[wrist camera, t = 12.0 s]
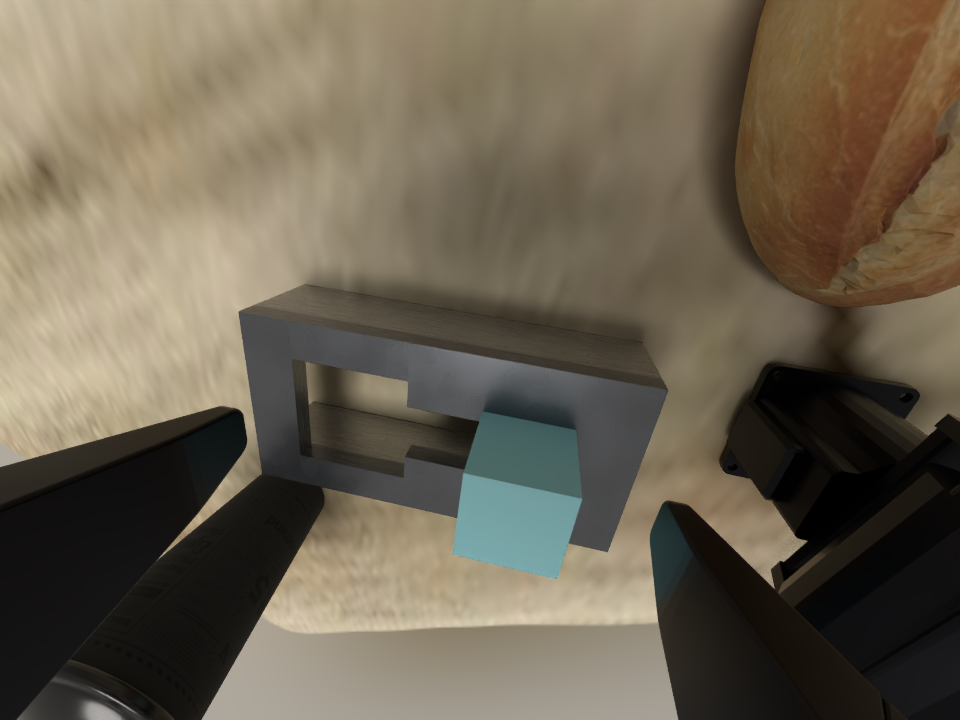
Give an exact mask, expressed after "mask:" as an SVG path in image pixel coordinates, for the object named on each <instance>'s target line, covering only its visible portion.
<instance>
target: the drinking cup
mask: <svg viewBox="0 0 960 720" xmlns="http://www.w3.org/2000/svg"><path fill="white" fill-rule="evenodd" d="M323 505H324V496H323V492H322V490H321V488H320V487H319V486H315V485H310V484H306V483H302V482H297V481H293V480H289V479H284V478H280V477H275V476H271V475H267V474H261V475H260V476H259V477H257V478H256V479H255V480H254V481H253V482H251V483H250V484H249V485H248V486H247V487H245V488H244V489H243V490H242V491H240V492H239V493H238V494H237V495H236V496H234V497H233V498H232V499H231V500H230V501H228V502H227V503H226V504H225V505H224V506H222V507H221V508H220V509H219V510H217V511H216V512H215V513H214V514H213V515H211V516H210V517H209V518H208V519H207V520H205V521H204V522H203V523H202V524H201V525H199V526H198V527H197V528H196V529H195V530H193V531H192V532H191V533H190V534H188V535H187V536H186V537H185V538H184V539H182V540H181V541H180V542H179V543H178V544H176V545H175V546H174V547H173V548H172V549H170V550H169V551H168V552H167V553H166V554H164V555H163V556H162V557H161V558H159V559H158V560H157V561H156V562H155V563H154V564H153V565H152V566H151V568H150V569H149V570H148V571H147V572H146V573H145V574H144V576H143V577H142V578H141V579H140V580H139V581H138V582H137V583H136V585H135V586H134V587H133V588H132V589H131V590H130V591H129V593H128V594H127V595H126V596H125V597H124V598H123V599H122V601H121V602H120V603H119V604H118V605H117V606H116V607H115V609H114V610H113V611H112V612H111V613H110V614H109V615H108V616H107V618H106V619H105V620H104V621H103V622H102V623H101V624H100V626H99V627H98V628H97V629H96V630H95V631H94V632H93V634H92V635H91V636H90V637H89V638H88V639H87V640H86V642H85V643H84V644H83V645H82V646H81V647H80V648H79V649H78V651H77V652H76V653H75V654H74V655H73V656H72V657H71V659H70V660H69V661H68V662H67V663H66V664H65V665H64V667H63V668H62V669H61V670H60V671H59V672H58V673H57V674H56V676H55V677H54V678H53V679H52V680H51V681H50V682H49V684H48V685H47V686H46V687H45V688H44V689H43V690H42V692H41V693H40V694H39V695H38V696H37V697H36V698H35V700H34V701H33V702H32V703H31V704H30V705H29V706H28V707H27V709H26V710H25V711H24V712H23V713H22V714H21V715H20V717H19V718H18V719H17V720H202V717H203V716H204V714H205V713H206V711H207V709H208V707H209V705H210V704H211V702H212V700H213V699H214V697H215V695H216V693H217V692H218V690H219V688H220V686H221V685H222V683H223V681H224V679H225V678H226V676H227V674H228V672H229V671H230V669H231V667H232V665H233V664H234V662H235V660H236V658H237V656H238V655H239V653H240V652H241V650H242V648H243V646H244V644H245V643H246V641H247V639H248V638H249V636H250V634H251V632H252V631H253V629H254V627H255V625H256V623H257V622H258V620H259V618H260V617H261V615H262V613H263V611H264V610H265V608H266V606H267V604H268V603H269V601H270V599H271V597H272V596H273V594H274V592H275V590H276V589H277V587H278V585H279V583H280V582H281V580H282V578H283V576H284V575H285V573H286V571H287V569H288V568H289V566H290V564H291V562H292V561H293V559H294V557H295V555H296V554H297V552H298V550H299V548H300V547H301V545H302V543H303V541H304V540H305V538H306V536H307V534H308V533H309V531H310V529H311V527H312V526H313V524H314V522H315V520H316V519H317V517H318V515H319V513H320V512H321V510H322V508H323Z"/></svg>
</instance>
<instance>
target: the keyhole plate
mask: <svg viewBox="0 0 960 720" xmlns="http://www.w3.org/2000/svg"><path fill="white" fill-rule="evenodd" d="M239 319H240V325H241V332H242V339H243V346H244V353H245V359H246V366H247V373H248V380H249V386H250V393H251V400H252V407H253V414H254V420H255V427H256V434H257V441H258V447H259V454H260V461H261V468H262V474H267V475H271V476H275V477H280V478H284V479H289V480H293V481H297V482H302V483H306V484H310V485H315V486H319V487H324V488H328V489H332V490H337V491H341V492H346V493H350V494H354V495H359V496H363V497H368V498H372V499H376V500H381V501H385V502H390V503H394V504H398V505H403V506H407V507H412V508H416V509H420V510H425V511H429V512H434V513H438V514H442V515H447V516H451V517H455V518H457V517H458V509H459V502H460V494H461V487H462V480H463V473H464V470H465V466H466V463H467V460H468V457H469V453H470V450H471V447H472V444H473V441H474V437H475V435H472V434H467V433H462V432H457V431H453V430H448V429H443V428H438V427H433V426H428V425H423V424H418V423H413V422H409V421H404V420H399V419H394V418H389V417H384V416H379V415H374V414H369V413H365V412H360V411H355V410H350V409H345V408H340V407H335V406H330V405H325V404H321V403H316V402H312V403H311V404H310V405H309V404H308V391H307V377H306V364H305V361H306V362H311V363H316V364H321V365H326V366H332V367H337V368H342V369H347V370H352V371H357V372H362V373H368V374H373V375H378V376H383V377H388V378H393V379H399V380H404V381H408V401H407V407H410V408H415V409H420V410H425V411H430V412H435V413H440V414H445V415H449V416H454V417H459V418H464V419H469V420H474V421H480V418H481V415H482V412H488V413H493V414H498V415H503V416H508V417H513V418H518V419H523V420H528V421H533V422H538V423H543V424H548V425H553V426H558V427H563V428H568V429H573V430H576V434H577V446H578V457H579V468H580V479H581V490H582V501H581V505H580V508H579V511H578V514H577V517H576V521H575V524H574V527H573V530H572V533H571V537H570V540H569V543H570V544H574V545H579V546H583V547H587V548H592V549H596V550H600V551H605V552H608V550H609V547H610V545H611V542H612V539H613V537H614V534H615V531H616V529H617V526H618V523H619V521H620V518H621V515H622V513H623V510H624V507H625V505H626V502H627V499H628V497H629V494H630V491H631V489H632V486H633V483H634V481H635V478H636V475H637V473H638V470H639V467H640V465H641V462H642V459H643V457H644V454H645V451H646V449H647V446H648V443H649V441H650V438H651V435H652V433H653V430H654V427H655V425H656V422H657V419H658V417H659V414H660V411H661V409H662V406H663V403H664V401H665V398H666V395H667V393H668V389H667V387H666V385H665V383H664V381H663V380H662V378H661V376H660V374H659V372H658V371H657V369H656V367H655V365H654V363H653V362H652V360H651V358H650V356H649V354H648V352H647V351H646V349H645V347H644V345H643V343H641V342H635V341H629V340H623V339H618V338H612V337H606V336H600V335H594V334H589V333H583V332H577V331H571V330H565V329H560V328H554V327H548V326H542V325H536V324H531V323H525V322H519V321H513V320H507V319H502V318H496V317H490V316H484V315H478V314H473V313H467V312H461V311H455V310H449V309H444V308H438V307H432V306H426V305H420V304H415V303H409V302H403V301H397V300H391V299H386V298H380V297H374V296H368V295H362V294H357V293H351V292H345V291H339V290H333V289H328V288H322V287H316V286H310V285H302V286H300V287H297V288H295V289H292V290H290V291H287V292H285V293H283V294H280V295H278V296H275V297H273V298H270V299H268V300H265V301H263V302H261V303H258V304H256V305H253V306H251V307H248V308H246V309H243V310H241V311H239Z"/></svg>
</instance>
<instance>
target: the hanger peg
mask: <svg viewBox="0 0 960 720" xmlns="http://www.w3.org/2000/svg"><path fill="white" fill-rule="evenodd" d="M581 501H582V490H581V479H580V468H579V457H578V446H577V434H576V430H573V429H568V428H563V427H558V426H553V425H548V424H543V423H538V422H533V421H528V420H523V419H518V418H513V417H508V416H503V415H498V414H493V413H488V412H482V415H481V418H480V421H479V425H478V428H477V431H476V434H475V437H474V441H473V444H472V447H471V450H470V453H469V457H468V460H467V463H466V466H465V470H464V473H463V480H462V487H461V494H460V502H459V509H458V517H457V524H456V531H455V539H454V546H453V555H457V556H461V557H465V558H470V559H474V560H478V561H482V562H486V563H491V564H495V565H499V566H503V567H507V568H512V569H516V570H520V571H524V572H528V573H532V574H537V575H541V576H545V577H549V578H553V579H557V578H558V575H559V572H560V569H561V565H562V562H563V559H564V556H565V553H566V549H567V546H568V543H569V540H570V537H571V533H572V530H573V527H574V524H575V521H576V517H577V514H578V511H579V508H580V505H581Z"/></svg>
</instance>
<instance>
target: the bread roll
mask: <svg viewBox="0 0 960 720" xmlns="http://www.w3.org/2000/svg"><path fill="white" fill-rule="evenodd" d="M735 178H736V190H737V197H738V201H739V205H740V209H741V214H742V218H743V221H744V224H745V227H746V230H747V232H748V235H749V238H750V241H751V243H752V245H753V247H754V249H755V252H756V253H757V255H758V256H759V257H760V259H761V260H762V262H763V263H764V264H765V265H766V267H767V268H768V269H769V271H770V272H771V273H772V274H773V275H774V276H775V277H776V278H777V279H778V280H779V281H780V282H781V283H782V284H783V285H784V286H785V287H786V288H787V289H789V290H790V291H792V292H793V293H795V294H797V295H799V296H802V297H804V298H807V299H809V300H812V301H814V302H817V303H820V304H823V305H827V306H837V307H861V306H869V305H881V304H891V303H895V302H899V301H904V300H909V299H915V298H922V297H928V296H931V295H933V294H936V293H939V292H942V291H945V290H947V289H950V288H953V287H956V286H958V285H960V0H766V2H765V5H764V8H763V11H762V15H761V18H760V21H759V26H758V30H757V35H756V39H755V44H754V49H753V54H752V58H751V63H750V68H749V73H748V78H747V83H746V88H745V94H744V99H743V105H742V112H741V118H740V125H739V132H738V138H737V149H736V159H735Z"/></svg>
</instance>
